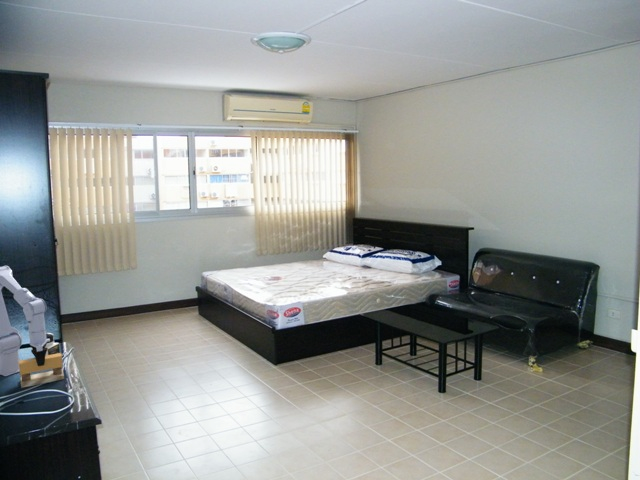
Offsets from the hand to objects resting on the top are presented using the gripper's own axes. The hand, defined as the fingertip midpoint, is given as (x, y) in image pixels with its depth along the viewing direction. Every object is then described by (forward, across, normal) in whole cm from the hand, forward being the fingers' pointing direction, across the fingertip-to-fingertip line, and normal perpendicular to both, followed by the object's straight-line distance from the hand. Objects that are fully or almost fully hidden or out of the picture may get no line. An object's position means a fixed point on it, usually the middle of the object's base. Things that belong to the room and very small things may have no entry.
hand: (40, 363), depth 206 cm
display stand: (+7, 0, 0) cm, 7 cm away
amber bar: (+2, 0, 0) cm, 2 cm away
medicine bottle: (+7, +22, -3) cm, 24 cm away
